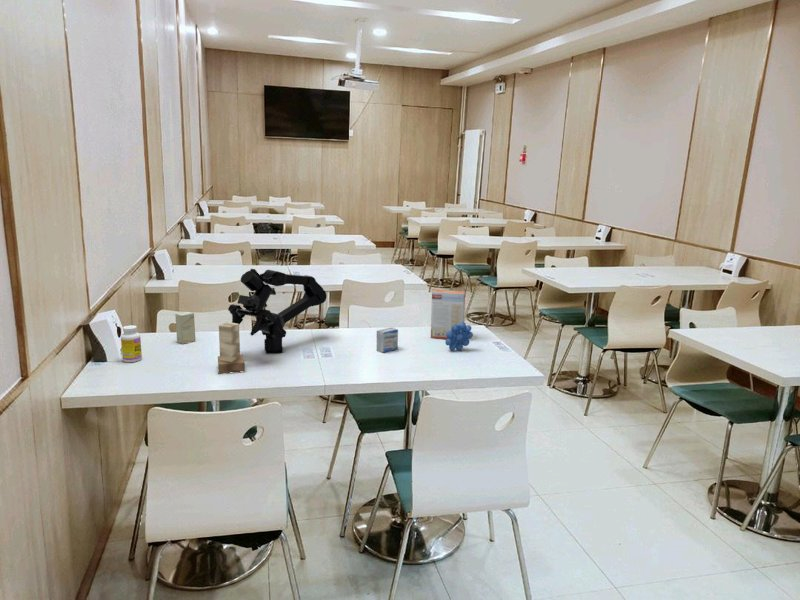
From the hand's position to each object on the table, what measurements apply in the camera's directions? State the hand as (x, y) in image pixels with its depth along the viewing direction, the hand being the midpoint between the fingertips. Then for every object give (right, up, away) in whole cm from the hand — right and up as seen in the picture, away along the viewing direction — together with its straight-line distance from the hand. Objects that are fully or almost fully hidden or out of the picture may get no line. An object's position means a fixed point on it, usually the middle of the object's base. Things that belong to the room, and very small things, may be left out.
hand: (241, 333), depth 217 cm
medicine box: (+53, -8, +22) cm, 58 cm away
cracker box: (+79, -5, +41) cm, 89 cm away
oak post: (-3, -9, -4) cm, 11 cm away
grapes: (+82, -8, +24) cm, 86 cm away
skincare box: (-30, -5, +26) cm, 40 cm away
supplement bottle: (-42, -10, +3) cm, 43 cm away
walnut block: (-3, -13, -3) cm, 14 cm away
